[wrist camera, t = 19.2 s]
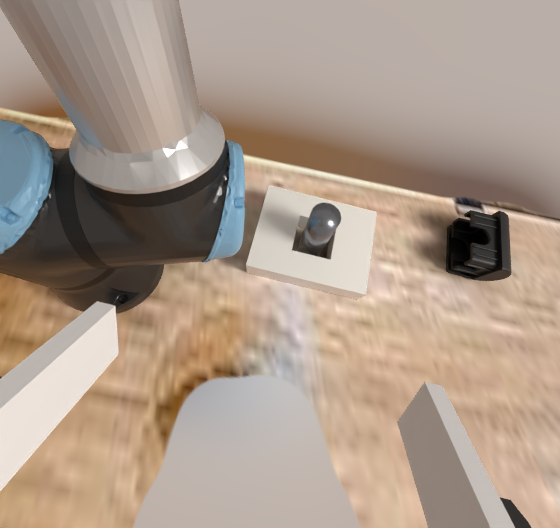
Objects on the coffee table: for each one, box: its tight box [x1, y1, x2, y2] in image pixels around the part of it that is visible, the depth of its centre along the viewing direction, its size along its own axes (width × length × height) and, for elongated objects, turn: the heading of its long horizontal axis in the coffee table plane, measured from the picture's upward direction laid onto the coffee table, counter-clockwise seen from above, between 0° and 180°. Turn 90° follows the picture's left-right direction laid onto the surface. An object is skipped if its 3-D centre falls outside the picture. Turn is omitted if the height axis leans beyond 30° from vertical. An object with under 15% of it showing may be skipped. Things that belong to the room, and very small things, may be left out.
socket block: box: [246, 185, 377, 300], centre depth 44 cm, size 18×14×4 cm
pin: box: [298, 203, 341, 256], centre depth 40 cm, size 4×4×11 cm
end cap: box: [446, 210, 511, 281], centre depth 45 cm, size 10×7×7 cm
